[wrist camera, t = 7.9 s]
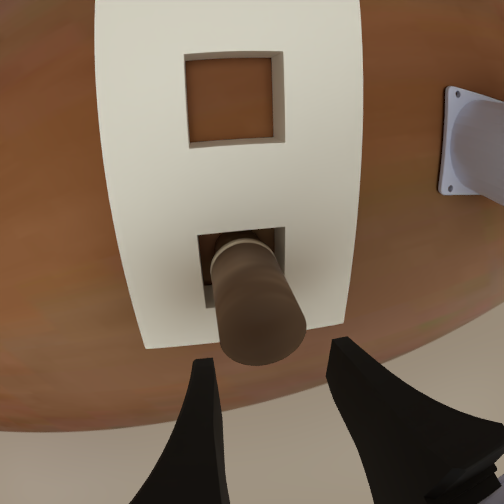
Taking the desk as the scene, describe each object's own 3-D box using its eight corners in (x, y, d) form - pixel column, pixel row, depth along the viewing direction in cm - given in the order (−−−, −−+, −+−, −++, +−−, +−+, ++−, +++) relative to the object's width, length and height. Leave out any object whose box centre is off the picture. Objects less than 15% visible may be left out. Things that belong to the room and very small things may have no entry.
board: (339, 6, 14) (358, -4, 12) (330, 302, 23) (343, 323, 21) (107, 12, 12) (95, 0, 10) (148, 324, 21) (145, 348, 19)
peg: (267, 219, 19) (311, 293, 12) (266, 272, 21) (302, 359, 14) (206, 223, 19) (216, 303, 12) (209, 276, 20) (221, 370, 13)
